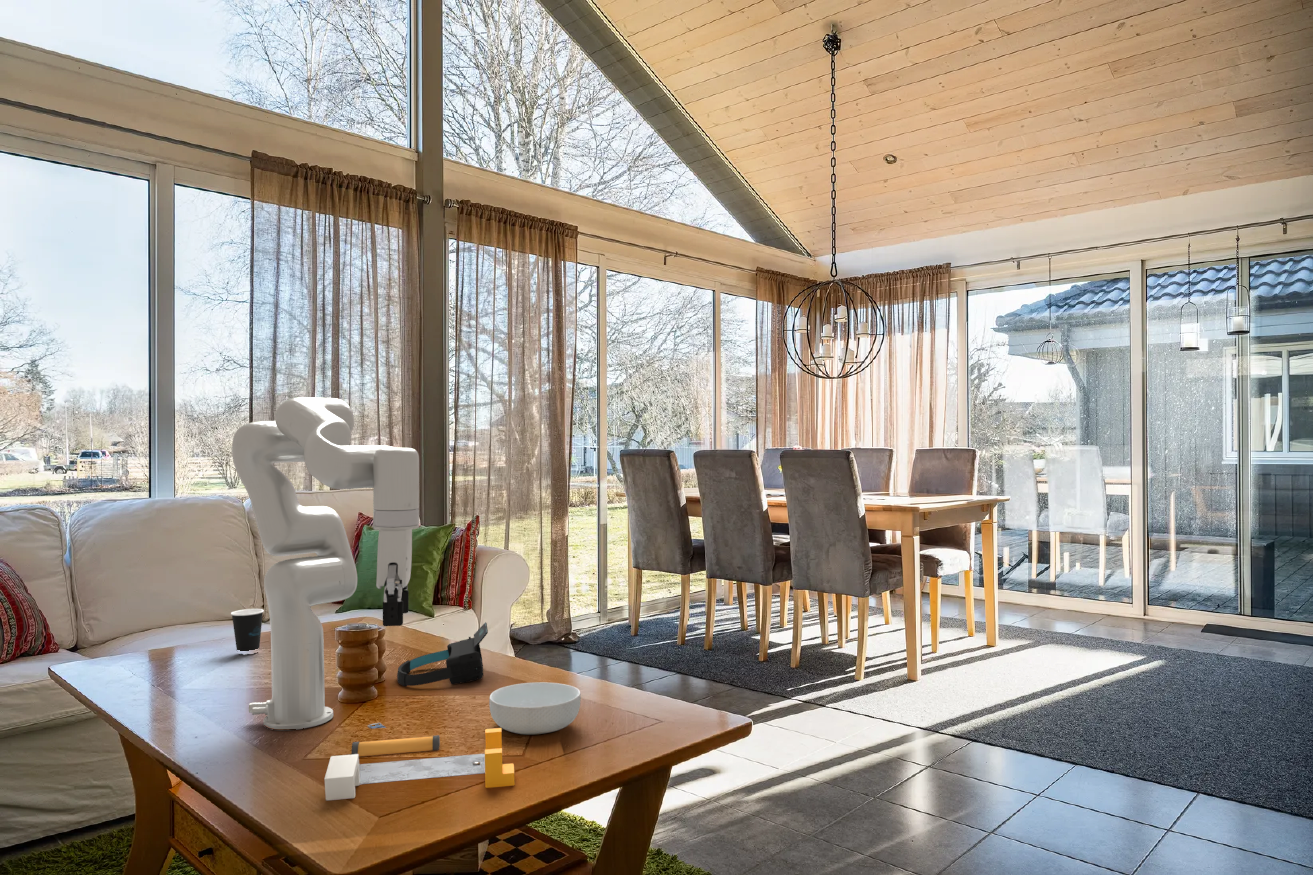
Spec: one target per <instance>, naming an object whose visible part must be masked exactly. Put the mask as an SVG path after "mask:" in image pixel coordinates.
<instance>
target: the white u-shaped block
mask: <svg viewBox="0 0 1313 875" xmlns="http://www.w3.org/2000/svg"><path fill="white" fill-rule="evenodd" d="M359 764H360V756H359V754H352V755H351V754H342V755H331V756H330V759H329V762H328V766H327V769H326V773H325V776H324V779H323V780H324V793H325V794H324V795H325V801H338V800H346V799H355V797H356V787H358V786H360V785H361V784H360V769H359Z"/></svg>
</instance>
